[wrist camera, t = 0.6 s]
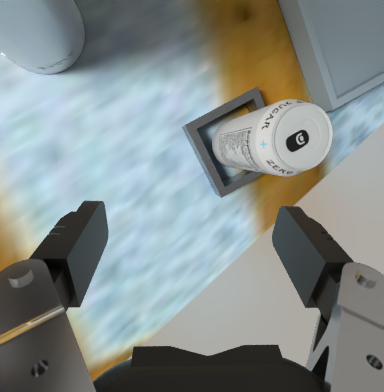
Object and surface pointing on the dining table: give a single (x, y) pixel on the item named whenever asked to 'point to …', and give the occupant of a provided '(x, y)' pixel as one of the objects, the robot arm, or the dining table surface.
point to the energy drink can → (275, 139)
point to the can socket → (190, 129)
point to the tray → (337, 46)
